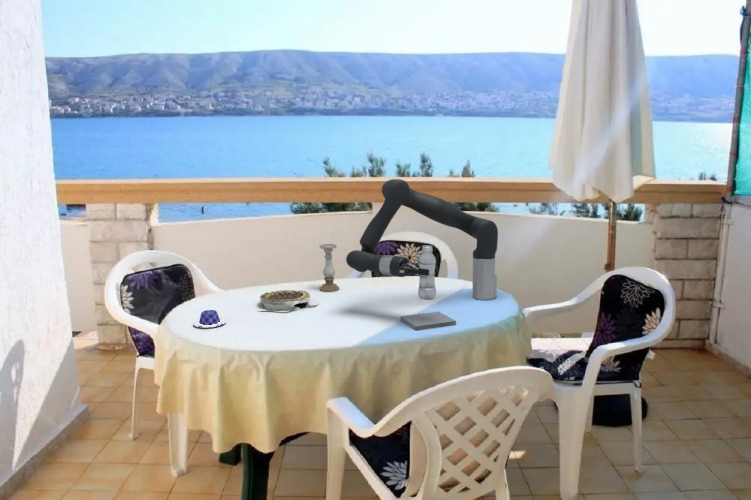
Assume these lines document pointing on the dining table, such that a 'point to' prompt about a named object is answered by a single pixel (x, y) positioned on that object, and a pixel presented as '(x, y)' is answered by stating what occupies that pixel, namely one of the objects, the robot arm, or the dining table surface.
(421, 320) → the slate tile
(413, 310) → the dining table surface
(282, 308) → the pie
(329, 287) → the candle holder
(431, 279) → the plastic bottle
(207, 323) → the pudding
